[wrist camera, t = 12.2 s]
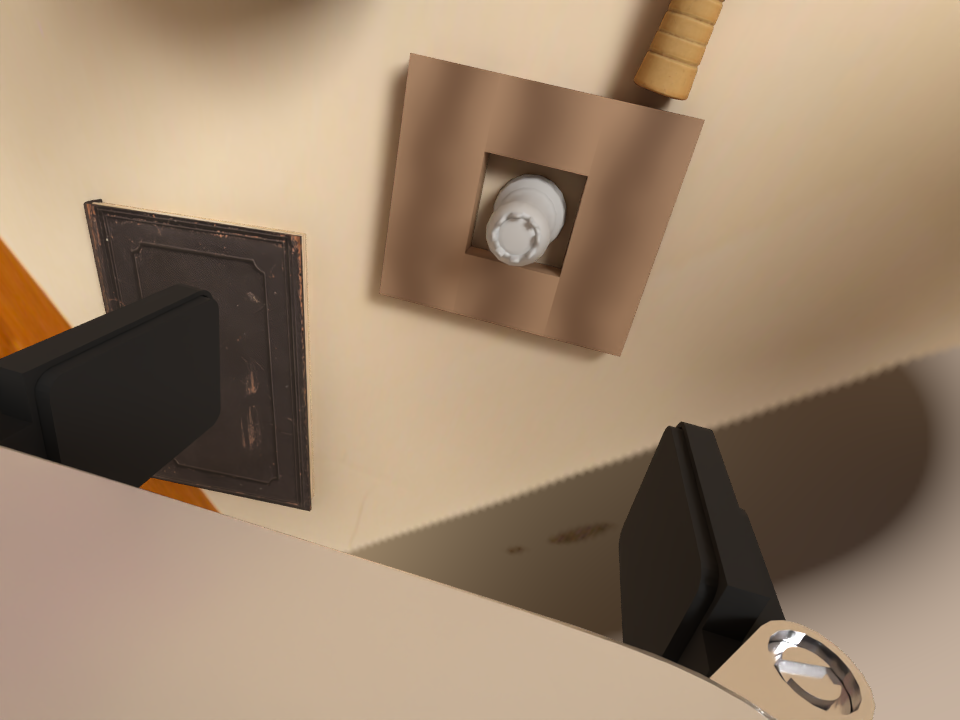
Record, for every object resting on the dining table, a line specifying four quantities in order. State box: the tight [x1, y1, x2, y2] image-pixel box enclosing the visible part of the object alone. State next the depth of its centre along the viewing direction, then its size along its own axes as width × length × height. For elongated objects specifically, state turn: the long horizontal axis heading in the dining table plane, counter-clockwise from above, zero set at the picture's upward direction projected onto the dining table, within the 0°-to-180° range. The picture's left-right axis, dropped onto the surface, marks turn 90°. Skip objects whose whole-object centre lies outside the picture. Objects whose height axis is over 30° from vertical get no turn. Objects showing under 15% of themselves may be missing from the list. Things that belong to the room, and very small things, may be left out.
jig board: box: [379, 53, 705, 356], centre depth 33 cm, size 16×14×2 cm
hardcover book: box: [84, 199, 314, 511], centre depth 42 cm, size 16×23×2 cm
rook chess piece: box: [486, 174, 567, 266], centre depth 30 cm, size 4×4×8 cm
